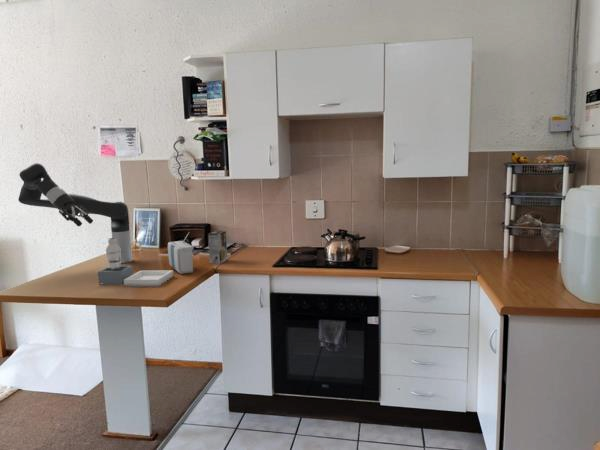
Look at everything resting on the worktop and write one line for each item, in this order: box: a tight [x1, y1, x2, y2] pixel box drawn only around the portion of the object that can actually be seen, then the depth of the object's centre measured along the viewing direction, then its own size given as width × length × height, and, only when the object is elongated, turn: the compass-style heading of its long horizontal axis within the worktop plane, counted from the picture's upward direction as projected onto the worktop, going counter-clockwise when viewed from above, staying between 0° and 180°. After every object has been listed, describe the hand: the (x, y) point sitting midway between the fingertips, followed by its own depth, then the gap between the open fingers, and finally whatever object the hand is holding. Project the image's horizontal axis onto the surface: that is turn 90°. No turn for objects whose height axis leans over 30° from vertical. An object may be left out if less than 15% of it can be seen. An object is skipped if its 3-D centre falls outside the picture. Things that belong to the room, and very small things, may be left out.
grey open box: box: [97, 265, 134, 285], centre depth 197 cm, size 11×10×6 cm
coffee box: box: [207, 230, 228, 265], centre depth 230 cm, size 9×6×16 cm
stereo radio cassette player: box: [167, 231, 194, 275], centre depth 214 cm, size 21×8×20 cm, turn 29°
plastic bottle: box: [105, 237, 122, 271], centre depth 196 cm, size 6×7×20 cm
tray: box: [123, 269, 174, 287], centre depth 195 cm, size 16×16×3 cm
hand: (86, 223), depth 195 cm, fingers open, 8 cm apart
